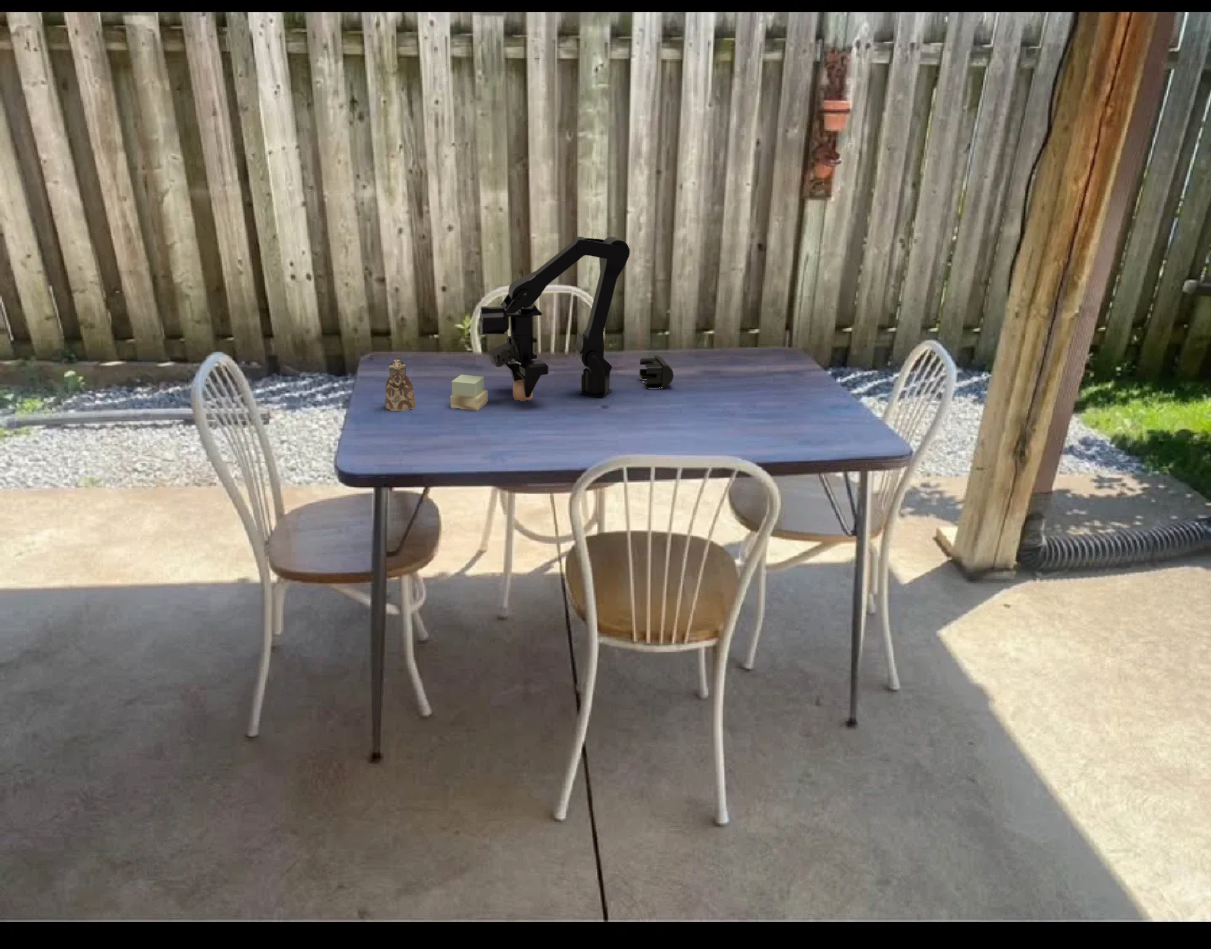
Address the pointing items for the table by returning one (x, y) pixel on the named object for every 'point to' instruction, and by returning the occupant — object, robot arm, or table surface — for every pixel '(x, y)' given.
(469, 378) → the top block
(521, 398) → the orange-brown short cylinder
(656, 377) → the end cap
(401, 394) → the figurine
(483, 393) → the base block
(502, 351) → the robot arm
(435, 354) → the table surface
